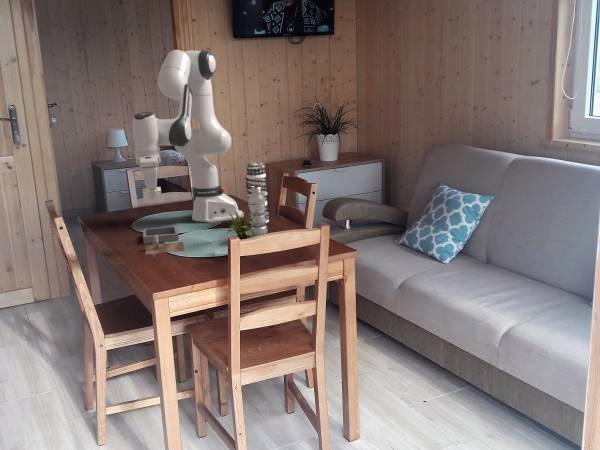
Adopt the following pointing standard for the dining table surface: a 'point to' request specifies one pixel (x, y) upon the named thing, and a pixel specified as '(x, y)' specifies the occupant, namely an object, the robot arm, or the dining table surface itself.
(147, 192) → the cream collar
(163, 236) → the charcoal tray
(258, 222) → the plastic bottle
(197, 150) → the robot arm
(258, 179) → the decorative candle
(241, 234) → the house plant
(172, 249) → the walnut board
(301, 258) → the dining table surface
